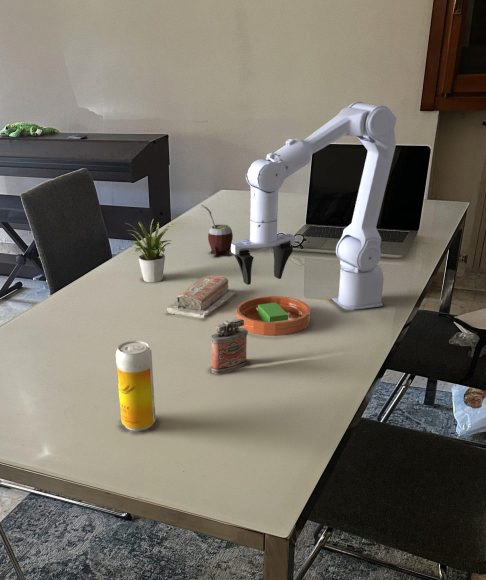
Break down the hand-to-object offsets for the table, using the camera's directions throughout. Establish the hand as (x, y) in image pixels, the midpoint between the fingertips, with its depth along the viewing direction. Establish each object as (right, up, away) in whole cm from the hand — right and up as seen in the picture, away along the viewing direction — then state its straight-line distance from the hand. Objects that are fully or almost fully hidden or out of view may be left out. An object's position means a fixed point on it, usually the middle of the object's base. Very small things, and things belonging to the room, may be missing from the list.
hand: (262, 280), depth 164 cm
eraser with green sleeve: (+3, -9, +3) cm, 10 cm away
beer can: (-27, -32, -32) cm, 53 cm away
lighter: (-9, -21, -15) cm, 27 cm away
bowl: (+3, -9, +4) cm, 10 cm away
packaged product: (-12, -3, +17) cm, 21 cm away
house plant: (-25, +7, +35) cm, 44 cm away
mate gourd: (-5, +17, +50) cm, 53 cm away
